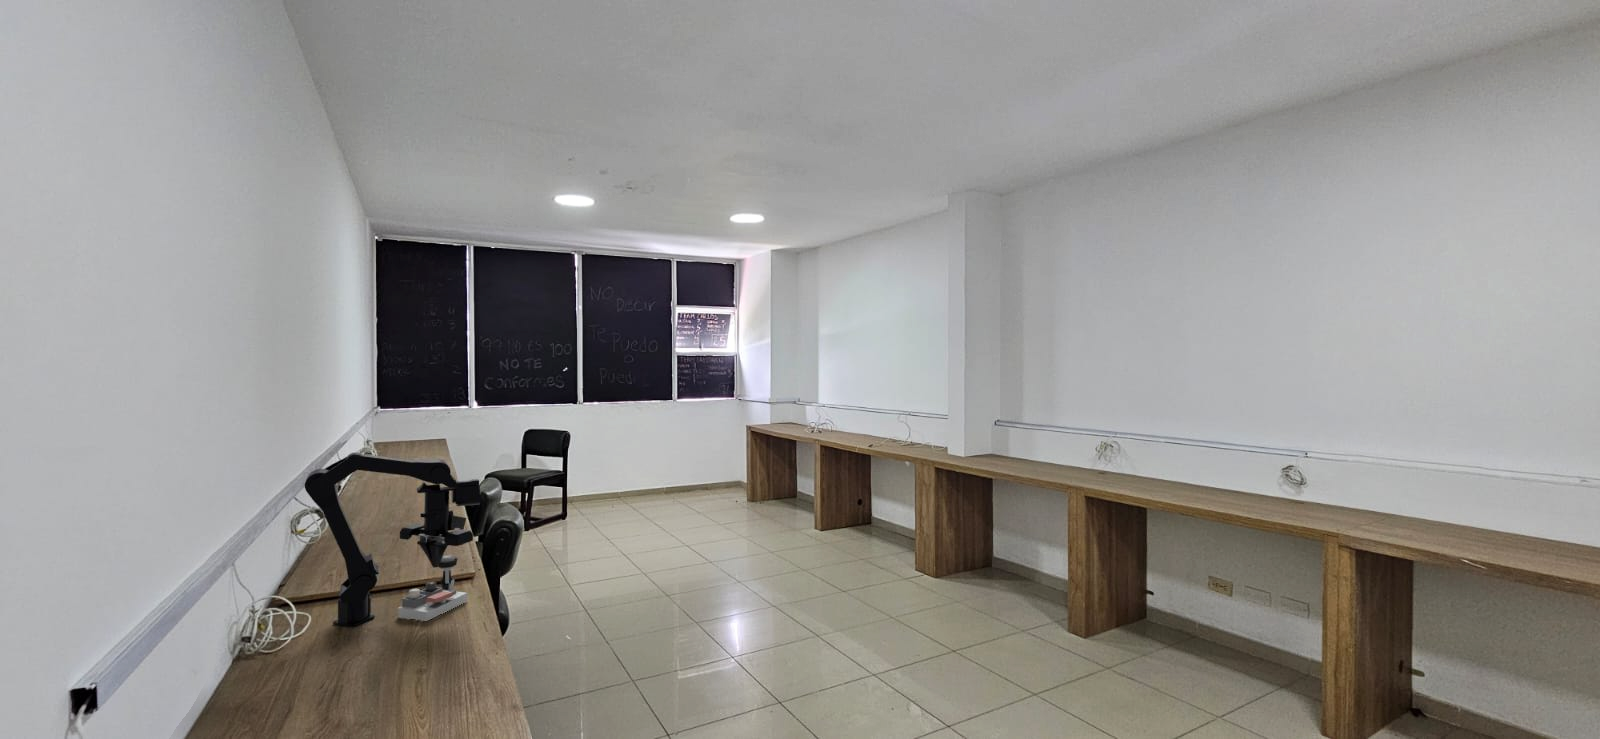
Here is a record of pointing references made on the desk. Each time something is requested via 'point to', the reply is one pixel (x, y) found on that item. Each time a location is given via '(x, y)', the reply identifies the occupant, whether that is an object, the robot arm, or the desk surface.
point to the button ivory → (414, 594)
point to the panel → (430, 604)
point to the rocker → (439, 596)
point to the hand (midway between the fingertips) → (435, 567)
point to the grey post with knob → (447, 570)
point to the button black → (430, 586)
